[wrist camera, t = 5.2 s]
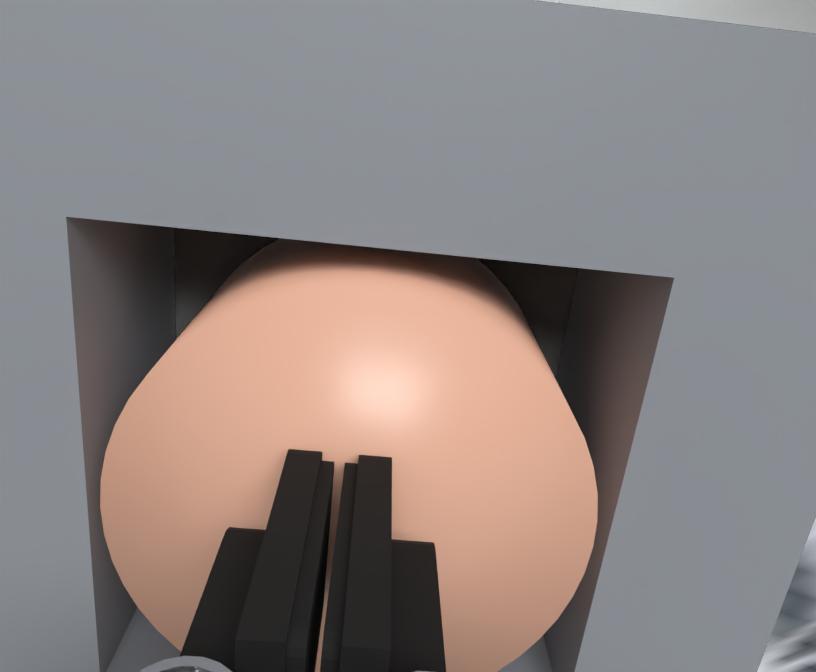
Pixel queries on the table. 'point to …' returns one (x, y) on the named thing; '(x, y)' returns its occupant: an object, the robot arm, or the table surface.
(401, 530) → the button
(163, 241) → the button base
